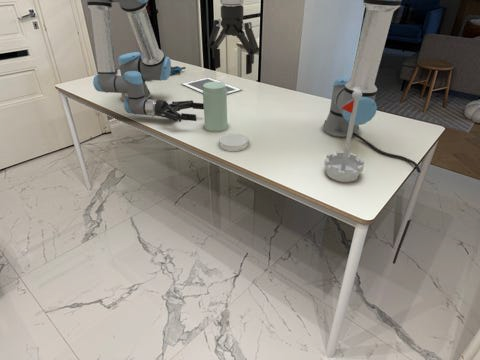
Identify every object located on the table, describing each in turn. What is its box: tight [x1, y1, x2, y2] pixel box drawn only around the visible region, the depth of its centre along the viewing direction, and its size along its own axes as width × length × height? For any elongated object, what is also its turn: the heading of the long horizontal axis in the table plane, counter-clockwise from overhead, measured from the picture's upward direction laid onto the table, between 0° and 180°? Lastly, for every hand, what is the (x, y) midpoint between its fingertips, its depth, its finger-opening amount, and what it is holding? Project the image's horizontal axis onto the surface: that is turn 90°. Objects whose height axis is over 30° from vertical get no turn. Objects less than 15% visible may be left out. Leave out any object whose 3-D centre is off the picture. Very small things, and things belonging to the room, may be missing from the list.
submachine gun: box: [170, 65, 187, 75], centre depth 224 cm, size 34×4×25 cm
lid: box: [219, 132, 249, 152], centre depth 138 cm, size 12×12×2 cm
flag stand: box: [323, 90, 365, 183], centre depth 111 cm, size 13×13×30 cm
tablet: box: [181, 77, 242, 95], centre depth 200 cm, size 32×20×1 cm, turn 41°
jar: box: [202, 81, 228, 133], centre depth 148 cm, size 10×10×19 cm
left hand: (201, 112), depth 152 cm, fingers open, 13 cm apart
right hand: (232, 70), depth 123 cm, fingers open, 13 cm apart
